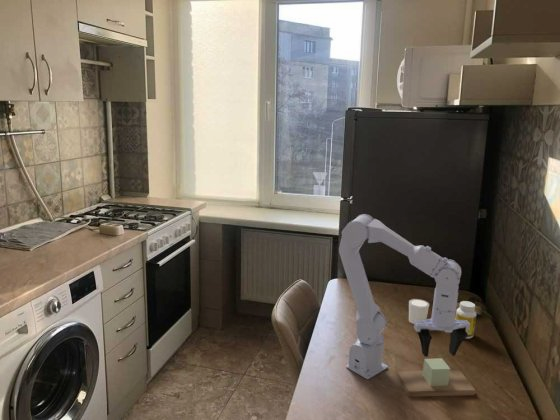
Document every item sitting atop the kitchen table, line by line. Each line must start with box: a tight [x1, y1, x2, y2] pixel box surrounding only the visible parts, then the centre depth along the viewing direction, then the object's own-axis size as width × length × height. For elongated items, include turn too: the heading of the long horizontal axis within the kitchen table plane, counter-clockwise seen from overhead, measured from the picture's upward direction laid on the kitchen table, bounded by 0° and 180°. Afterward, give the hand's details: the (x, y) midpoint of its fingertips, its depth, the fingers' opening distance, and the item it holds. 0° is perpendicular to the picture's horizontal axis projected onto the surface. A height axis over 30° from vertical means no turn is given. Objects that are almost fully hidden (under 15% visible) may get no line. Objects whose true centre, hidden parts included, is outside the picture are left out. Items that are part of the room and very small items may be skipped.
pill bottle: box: [455, 300, 477, 340], centre depth 153 cm, size 6×6×11 cm
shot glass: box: [408, 298, 430, 325], centre depth 162 cm, size 7×7×7 cm
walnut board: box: [396, 370, 476, 398], centre depth 126 cm, size 9×18×2 cm, turn 95°
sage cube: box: [422, 357, 451, 386], centre depth 126 cm, size 5×5×5 cm
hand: (438, 354), depth 124 cm, fingers open, 7 cm apart
